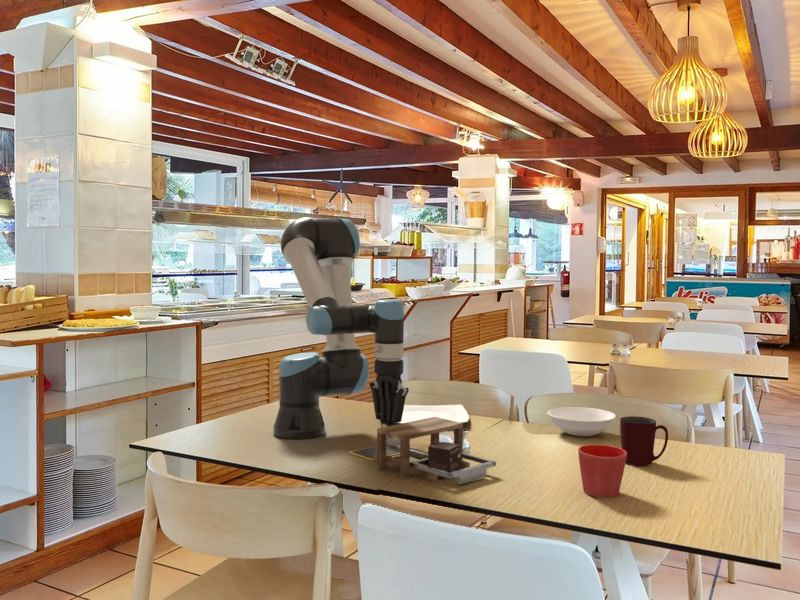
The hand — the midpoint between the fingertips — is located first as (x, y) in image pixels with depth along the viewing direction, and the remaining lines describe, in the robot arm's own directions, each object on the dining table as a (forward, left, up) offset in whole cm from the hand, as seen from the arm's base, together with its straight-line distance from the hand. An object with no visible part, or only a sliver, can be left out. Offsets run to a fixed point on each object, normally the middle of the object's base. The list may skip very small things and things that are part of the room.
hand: (388, 447), depth 199 cm
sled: (+15, 0, -2) cm, 15 cm away
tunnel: (+12, 0, -2) cm, 12 cm away
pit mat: (-4, 0, -2) cm, 5 cm away
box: (+21, -1, -3) cm, 21 cm away
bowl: (+20, +59, -3) cm, 62 cm away
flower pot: (+54, +16, -3) cm, 57 cm away
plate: (-25, +38, -3) cm, 46 cm away
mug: (+48, +45, -3) cm, 66 cm away
